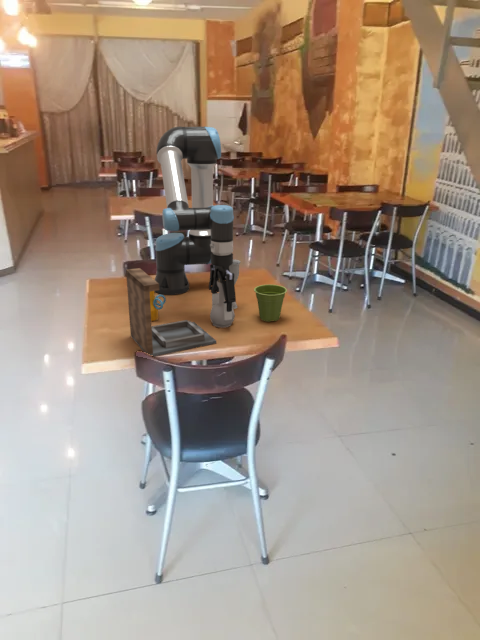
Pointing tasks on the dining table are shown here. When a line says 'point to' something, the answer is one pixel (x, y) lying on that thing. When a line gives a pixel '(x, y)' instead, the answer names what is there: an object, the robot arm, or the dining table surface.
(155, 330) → the ledge nook
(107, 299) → the dining table surface
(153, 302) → the orange ring-handled vase
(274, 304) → the plant pot
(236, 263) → the chalice
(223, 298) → the potion bottle
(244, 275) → the dining table surface
